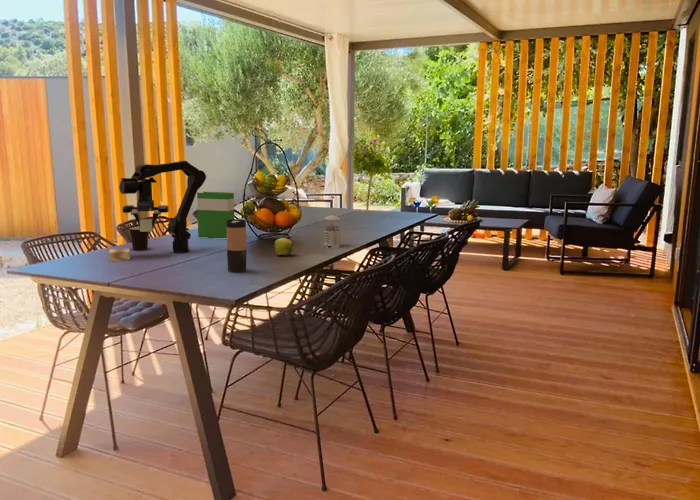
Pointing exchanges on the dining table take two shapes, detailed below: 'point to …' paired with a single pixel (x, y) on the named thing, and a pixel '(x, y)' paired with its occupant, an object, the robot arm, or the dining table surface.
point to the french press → (332, 231)
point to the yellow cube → (146, 225)
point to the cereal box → (214, 213)
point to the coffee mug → (139, 239)
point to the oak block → (119, 254)
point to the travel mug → (236, 245)
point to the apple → (283, 246)
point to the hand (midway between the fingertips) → (146, 228)
